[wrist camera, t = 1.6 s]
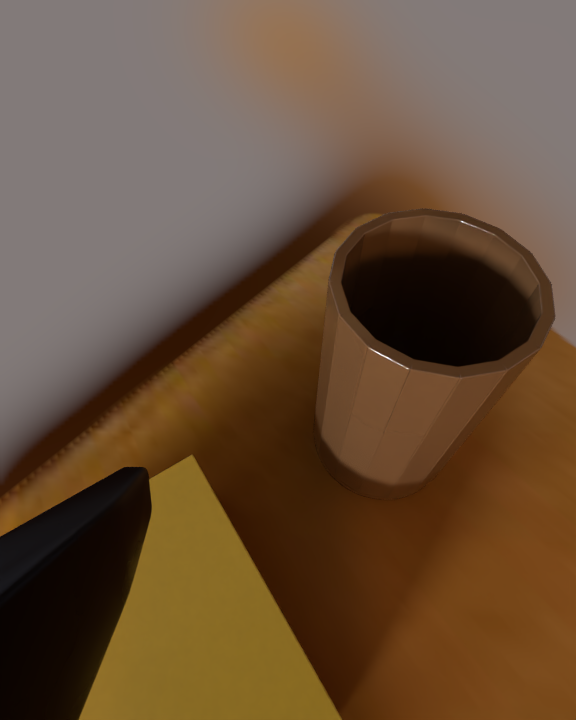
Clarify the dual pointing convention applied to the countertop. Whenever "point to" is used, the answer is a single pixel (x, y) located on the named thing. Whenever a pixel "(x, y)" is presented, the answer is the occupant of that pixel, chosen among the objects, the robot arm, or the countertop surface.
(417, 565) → the countertop surface
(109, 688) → the yellow block
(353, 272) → the brown faceted cup
